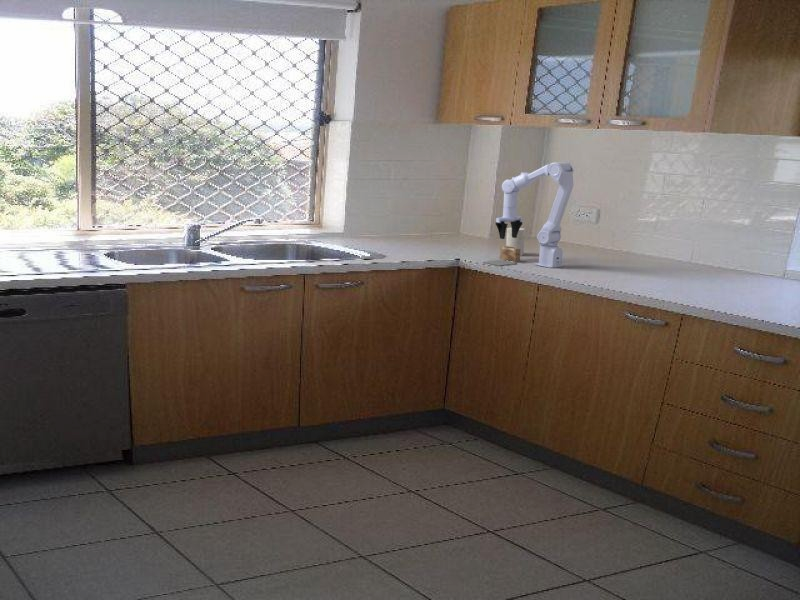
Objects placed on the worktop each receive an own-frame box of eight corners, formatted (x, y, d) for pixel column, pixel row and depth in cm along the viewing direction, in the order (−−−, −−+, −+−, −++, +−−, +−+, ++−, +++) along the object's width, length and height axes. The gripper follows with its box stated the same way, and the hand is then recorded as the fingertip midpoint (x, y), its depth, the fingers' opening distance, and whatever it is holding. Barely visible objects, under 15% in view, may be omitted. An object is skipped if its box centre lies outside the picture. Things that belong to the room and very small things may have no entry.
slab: (519, 262, 369) (520, 248, 368) (514, 262, 367) (515, 249, 366) (504, 259, 376) (505, 245, 374) (499, 259, 374) (500, 246, 372)
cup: (502, 254, 387) (504, 228, 385) (509, 252, 394) (510, 227, 392) (519, 256, 384) (521, 230, 381) (525, 254, 391) (527, 228, 388)
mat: (517, 264, 363) (517, 263, 363) (499, 266, 356) (499, 265, 356) (500, 260, 370) (500, 259, 370) (482, 262, 363) (482, 261, 363)
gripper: (514, 205, 377) (512, 236, 380) (491, 207, 368) (490, 238, 371) (526, 207, 372) (524, 237, 375) (503, 208, 363) (501, 240, 366)
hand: (508, 238), depth 373 cm, fingers open, 7 cm apart
